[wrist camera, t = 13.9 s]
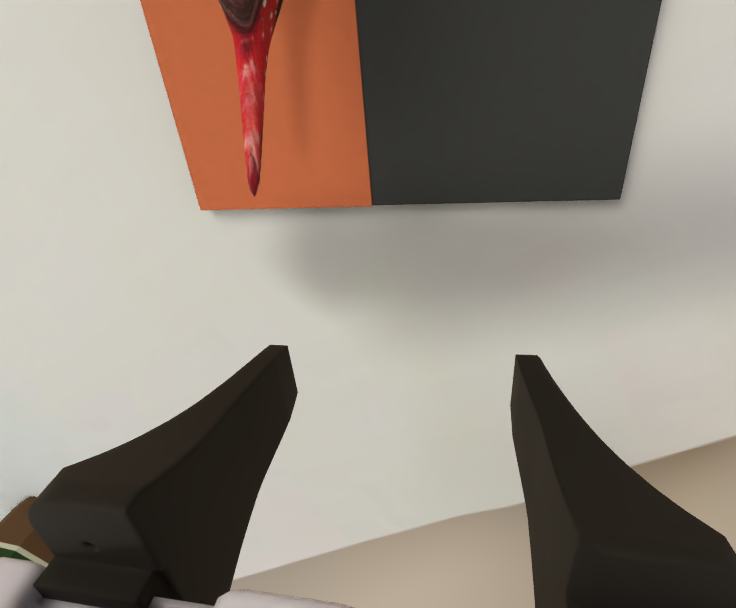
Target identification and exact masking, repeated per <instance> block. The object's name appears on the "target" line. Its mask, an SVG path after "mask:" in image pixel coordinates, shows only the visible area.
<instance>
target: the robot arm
mask: <svg viewBox="0 0 736 608" xmlns="http://www.w3.org/2000/svg"><path fill="white" fill-rule="evenodd" d="M297 393H298V391H297V387H296V382H295V378H294V373H293V369H292V364H291V360H290V355H289V351H288V346H284V345H269V346H268V347H267V348H265V349H264V350H263V351H262V352H260V353H259V354H258V355H257V356H256V357H254V358H253V359H252V360H251V361H250V362H249V363H247V364H246V365H245V366H244V367H243V368H241V369H240V370H239V371H238V372H236V373H235V374H234V375H233V376H232V377H230V378H229V379H228V380H227V381H225V382H224V383H223V384H221V385H220V386H219V387H217V388H216V389H215V390H213V391H212V392H211V393H209V394H208V395H207V396H205V397H204V398H203V399H201V400H200V401H199V402H197V403H196V404H194V405H193V406H191V407H190V408H188V409H187V410H185V411H184V412H182V413H180V414H179V415H177V416H176V417H174V418H172V419H171V420H169V421H167V422H165V423H163V424H162V425H160V426H158V427H156V428H154V429H152V430H151V431H149V432H147V433H145V434H143V435H141V436H139V437H137V438H135V439H133V440H131V441H129V442H127V443H125V444H122V445H120V446H118V447H116V448H113V449H111V450H109V451H107V452H104V453H102V454H99V455H97V456H94V457H91V458H89V459H86V460H84V461H81V462H78V463H76V464H73V465H70V466H67V467H65V468H63V469H62V470H61V471H60V472H59V473H58V474H57V476H56V477H55V478H54V479H53V480H52V481H51V482H50V484H49V485H48V486H47V487H46V488H45V489H44V490H43V492H42V493H41V494H40V495H39V496H38V497H37V498H36V500H35V501H34V502H33V503H32V504H31V505H30V506H29V510H28V518H29V522H30V524H31V526H32V527H33V529H34V530H35V532H36V533H37V534H38V535H39V537H40V538H41V539H42V540H43V542H44V543H45V544H46V546H47V547H48V548H49V549H50V551H51V552H52V553H53V554H54V558H53V559H52V560H51V562H50V563H49V564H48V566H47V567H44V566H43V565H41V564H39V563H36V562H32V561H26V560H19V559H13V558H6V557H1V558H0V608H354V607H350V606H347V605H343V604H339V603H334V602H327V601H320V600H314V599H308V598H300V597H294V596H288V595H280V594H274V593H268V592H261V591H254V590H231V591H230V588H231V584H232V580H233V576H234V572H235V569H236V565H237V561H238V558H239V554H240V550H241V547H242V543H243V540H244V537H245V533H246V530H247V527H248V523H249V520H250V517H251V514H252V511H253V508H254V505H255V501H256V498H257V495H258V492H259V490H260V487H261V484H262V482H263V479H264V477H265V475H266V473H267V470H268V468H269V466H270V464H271V461H272V459H273V457H274V455H275V452H276V450H277V448H278V446H279V444H280V441H281V439H282V437H283V434H284V432H285V430H286V428H287V425H288V423H289V421H290V418H291V414H292V411H293V408H294V404H295V401H296V397H297ZM510 406H511V421H512V435H513V441H514V446H515V451H516V457H517V462H518V467H519V472H520V477H521V482H522V488H523V493H524V498H525V503H526V509H527V516H528V525H529V536H530V546H531V557H532V558H531V559H532V571H533V582H534V596H535V608H736V553H735V552H734V550H733V549H732V547H731V546H730V544H729V542H728V541H727V539H726V538H725V536H723V535H722V534H720V533H719V532H717V531H716V530H714V529H713V528H711V527H710V526H708V525H706V524H705V523H703V522H702V521H700V520H699V519H697V518H696V517H694V516H693V515H691V514H690V513H688V512H687V511H685V510H684V509H682V508H681V507H680V506H678V505H677V504H675V503H674V502H673V501H671V500H670V499H669V498H667V497H666V496H665V495H663V494H662V493H661V492H659V491H658V490H657V489H655V488H654V487H653V486H652V485H650V484H649V483H648V482H647V481H646V480H644V479H643V478H642V477H641V476H640V475H639V474H637V473H636V472H635V471H634V470H633V469H631V468H630V467H629V466H628V465H627V464H626V463H625V462H624V461H623V460H621V459H620V458H619V457H618V456H617V455H616V454H615V453H614V452H613V451H612V450H611V449H610V448H609V447H608V446H607V445H606V444H605V443H604V442H603V441H602V440H601V439H600V438H599V437H598V435H597V434H596V433H595V432H594V431H593V430H592V429H591V428H590V427H589V425H588V424H587V423H586V422H585V421H584V420H583V418H582V417H581V416H580V415H579V413H578V412H577V411H576V410H575V409H574V407H573V406H572V405H571V403H570V402H569V401H568V399H567V398H566V397H565V395H564V394H563V393H562V391H561V390H560V388H559V387H558V385H557V384H556V383H555V381H554V380H553V378H552V377H551V375H550V373H549V372H548V370H547V369H546V367H545V365H544V364H543V362H542V360H541V359H540V358H539V357H538V356H537V355H516V357H515V367H514V376H513V386H512V395H511V405H510Z"/></svg>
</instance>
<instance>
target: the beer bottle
mask: <svg viewBox="0 0 736 608" xmlns="http://www.w3.org/2000/svg"><path fill="white" fill-rule="evenodd" d="M35 500H36V498H35V497H29V498H27V499H26V500H24V501H23V502H22V503H20V504H19V505H17V506H16V507H15V508H14V509H13V510H12V511H11V512H10V513H9V514H8V515H7V516H6V517H5V518H4V519H3V520H2V521H1V522H0V558H1V557H6V558H13V559H19V560H26V561H32V562H36V563H39V564H41V565H43V566H44V567H47V566H48V564H49V563H50V562H51V560H52V559H53V558H54V554H53V553H52V552H51V551H50V549H49V548H48V547H47V546H46V544H45V543H44V542H43V540H42V539H41V538H40V537H39V535H38V534H37V533H36V532H35V530H34V529H33V527H32V526H31V524H30V522H29V518H28V510H29V506H30V505H31V504H32V503H33V502H34V501H35Z"/></svg>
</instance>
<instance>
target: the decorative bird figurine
mask: <svg viewBox="0 0 736 608" xmlns="http://www.w3.org/2000/svg"><path fill="white" fill-rule="evenodd" d="M218 1H219V3H220V5H221V7H222V10H223V12H224V15H225V18H226V20H227V23H228V25H229V28H230V30H231V33H232V37H233V42H234V48H235V57H236V64H237V72H238V86H239V94H240V106H241V120H242V126H243V138H244V151H245V164H246V168H247V178H248V183H249V187H250V191H251V193H252V194H253V196H254V197H255V196H256V194H257V190H258V186H259V183H260V172H261V157H262V140H263V123H264V98H265V80H266V69H267V62H268V54H269V48H270V44H271V39H272V36H273V33H274V30H275V26H276V22H277V19H278V16H279V13H280V10H281V6H282V2H283V0H218Z"/></svg>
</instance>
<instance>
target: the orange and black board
mask: <svg viewBox="0 0 736 608" xmlns="http://www.w3.org/2000/svg"><path fill="white" fill-rule="evenodd" d="M140 1H141V5H142V8H143V12H144V15H145V18H146V22H147V25H148V29H149V32H150V36H151V39H152V43H153V46H154V50H155V53H156V57H157V60H158V64H159V67H160V70H161V74H162V77H163V81H164V84H165V88H166V91H167V95H168V98H169V102H170V105H171V109H172V112H173V116H174V119H175V123H176V126H177V129H178V133H179V136H180V140H181V143H182V147H183V150H184V154H185V157H186V161H187V164H188V168H189V171H190V175H191V178H192V181H193V185H194V188H195V192H196V195H197V199H198V202H199V206H200V209H201V210H231V209H275V208H319V207H363V206H372V205H402V204H445V203H488V202H531V201H574V200H617V199H620V197H621V193H622V188H623V183H624V178H625V173H626V169H627V164H628V159H629V154H630V150H631V145H632V140H633V135H634V130H635V126H636V121H637V116H638V111H639V106H640V102H641V97H642V92H643V87H644V82H645V78H646V73H647V68H648V63H649V59H650V54H651V49H652V44H653V39H654V35H655V30H656V25H657V20H658V15H659V11H660V6H661V1H662V0H283V2H282V6H281V10H280V13H279V16H278V19H277V22H276V26H275V30H274V33H273V36H272V39H271V44H270V48H269V54H268V62H267V69H266V80H265V98H264V123H263V140H262V157H261V172H260V183H259V186H258V190H257V194H256V196H255V197H254V196H253V194H252V193H251V191H250V187H249V183H248V178H247V168H246V164H245V151H244V138H243V126H242V120H241V106H240V94H239V86H238V72H237V64H236V57H235V48H234V42H233V37H232V33H231V30H230V28H229V25H228V23H227V20H226V18H225V15H224V12H223V10H222V7H221V5H220V3H219V1H218V0H140Z"/></svg>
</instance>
